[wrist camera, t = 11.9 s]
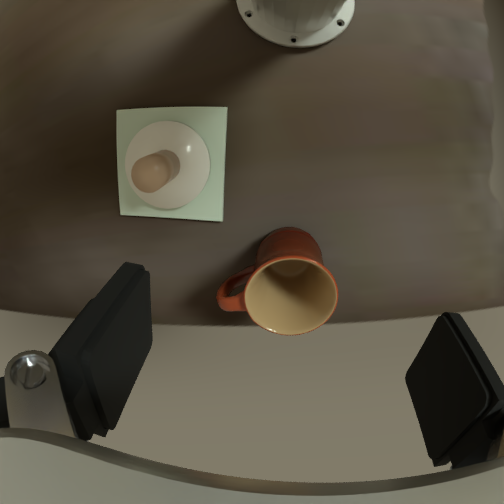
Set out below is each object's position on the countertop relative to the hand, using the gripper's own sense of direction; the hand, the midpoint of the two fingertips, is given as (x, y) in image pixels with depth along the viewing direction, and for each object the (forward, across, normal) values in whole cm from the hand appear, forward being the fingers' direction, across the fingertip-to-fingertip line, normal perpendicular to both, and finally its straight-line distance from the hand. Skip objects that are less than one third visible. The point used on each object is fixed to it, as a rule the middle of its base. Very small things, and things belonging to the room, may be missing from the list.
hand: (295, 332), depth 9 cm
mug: (+27, -1, +11) cm, 29 cm away
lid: (+27, +13, +2) cm, 30 cm away
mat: (+27, +13, +2) cm, 30 cm away
